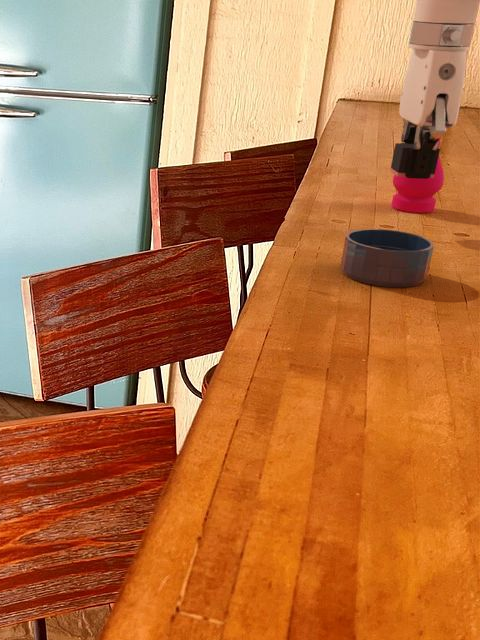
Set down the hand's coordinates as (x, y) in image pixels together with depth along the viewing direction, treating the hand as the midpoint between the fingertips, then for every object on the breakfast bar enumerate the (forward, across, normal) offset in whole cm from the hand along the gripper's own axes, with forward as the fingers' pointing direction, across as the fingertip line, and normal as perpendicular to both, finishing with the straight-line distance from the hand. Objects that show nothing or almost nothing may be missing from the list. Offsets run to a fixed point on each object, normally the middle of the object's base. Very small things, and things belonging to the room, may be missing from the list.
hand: (412, 173), depth 125 cm
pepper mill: (+8, +13, -6) cm, 16 cm away
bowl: (+8, -23, +9) cm, 26 cm away
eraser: (0, 0, 0) cm, 0 cm away
